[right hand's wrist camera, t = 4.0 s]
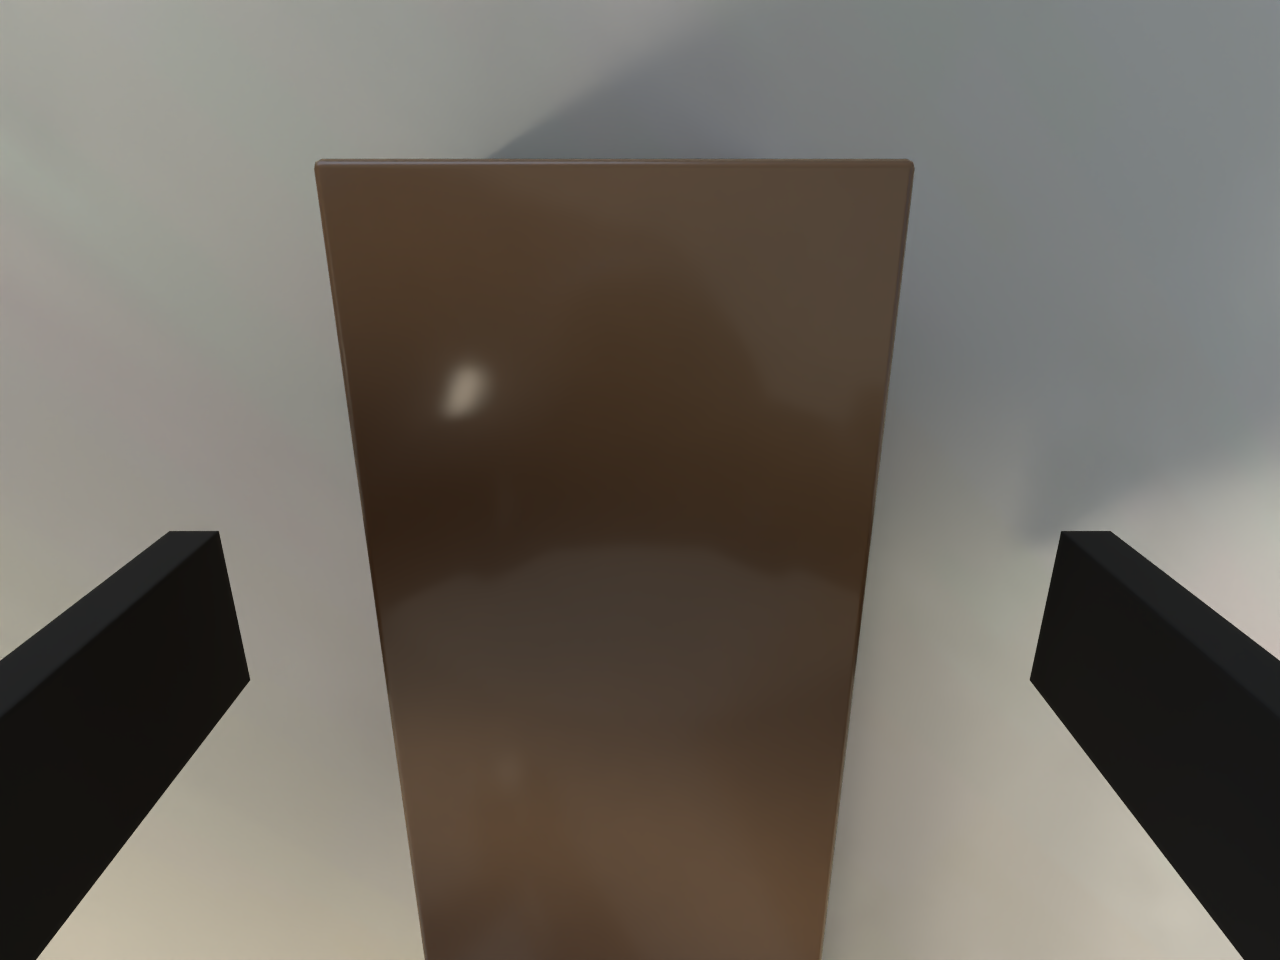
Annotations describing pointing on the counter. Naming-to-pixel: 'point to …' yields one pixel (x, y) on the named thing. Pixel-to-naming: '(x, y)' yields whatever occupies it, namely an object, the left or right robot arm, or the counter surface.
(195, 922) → the counter surface
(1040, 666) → the right robot arm
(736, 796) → the bar
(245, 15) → the counter surface
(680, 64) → the counter surface
